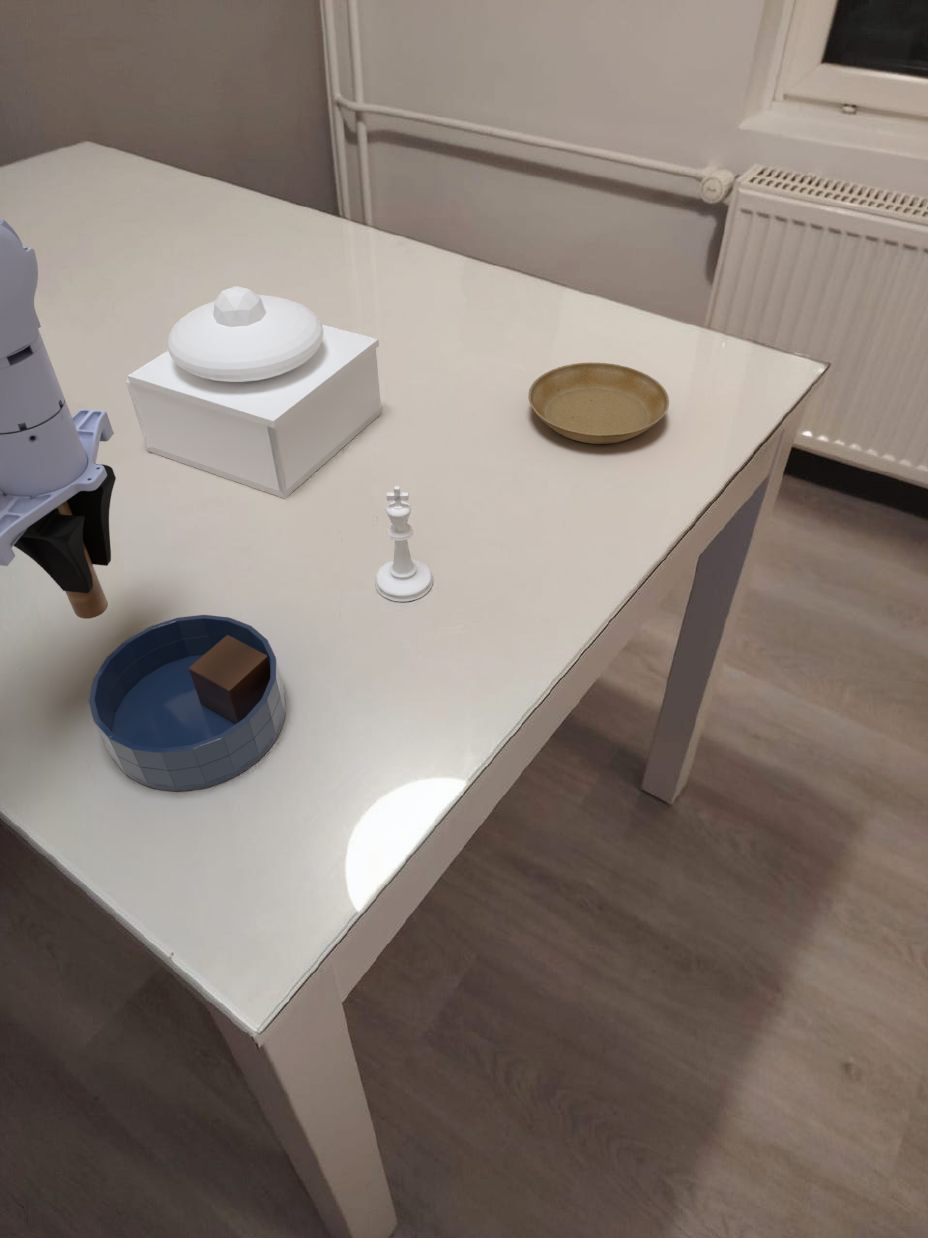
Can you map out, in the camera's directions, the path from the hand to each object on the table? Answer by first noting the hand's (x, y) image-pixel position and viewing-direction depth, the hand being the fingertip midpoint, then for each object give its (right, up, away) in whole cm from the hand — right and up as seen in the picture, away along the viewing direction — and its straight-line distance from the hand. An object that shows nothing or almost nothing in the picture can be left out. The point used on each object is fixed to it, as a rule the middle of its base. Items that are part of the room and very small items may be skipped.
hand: (87, 575), depth 62 cm
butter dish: (+6, +16, +30) cm, 35 cm away
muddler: (-1, -2, +2) cm, 3 cm away
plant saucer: (+41, +18, +31) cm, 55 cm away
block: (+10, -9, +3) cm, 14 cm away
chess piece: (+22, 0, +13) cm, 25 cm away
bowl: (+7, -11, +2) cm, 13 cm away
